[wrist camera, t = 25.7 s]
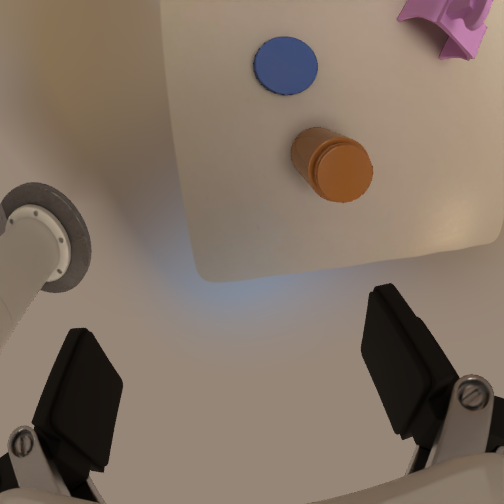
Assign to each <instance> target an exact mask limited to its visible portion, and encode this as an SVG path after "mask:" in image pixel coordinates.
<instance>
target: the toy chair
mask: <svg viewBox="0 0 504 504" xmlns="http://www.w3.org/2000/svg"><path fill="white" fill-rule="evenodd" d="M492 2H493V0H408V1H407V3H406V5H405V6H404V8H403V10H402V11H401V13H400V15H399V17H398V18H397V20H398V21H402V20H406V19H409V18H415V17H420V18H424V19H426V20H428V21H431V22H433V23H435V24H437V25H438V26H439V27H440V28H441V29H443V30H444V31H445V32H446V33H447V34H448V35H449V38H448V40H447V42H446V44H445V46H444V48H443V50H442V52H441V54H440V56H439V59H446V58H462V59H465V60H468V61H469V60H470V59H474V58H475V56H476V54H477V51H478V48H479V45H480V43H481V41H482V38H483V36H484V34H485V32H486V30H487V26H486V25H485V24H484V21H485V19H486V17H487V15H488V13H489V10H490V8H491V5H492Z"/></svg>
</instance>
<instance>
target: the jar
mask: <svg viewBox="0 0 504 504" xmlns="http://www.w3.org/2000/svg"><path fill="white" fill-rule="evenodd" d="M291 160H292V163H293V165H294V167H295V169H296V170H297V171H298V173H299V174H300V175H301V176H302V177H303V178H304V179H305V180H306V182H307V183H308V184H309V185H310V186H311V187H312V189H313V190H314V191H315V192H316V193H317V194H318V195H319V196H320V197H322V198H324V199H326V200H328V201H333V202H342V203H345V202H351V201H353V200H355V199H358V198H359V197H360V196H361V195H363V194H364V193H365V191H366V190H367V189H368V188H369V185H370V183H371V181H372V176H373V166H372V165H371V161H370V159H369V156H368V154H367V152H366V150H365V149H364V148H363V146H362V145H361V144H359V143H358V142H356V141H355V140H353V139H350V138H348V137H346V136H343V135H341V134H338V133H336V132H333V131H331V130H328V129H325V128H321V127H314V128H310V129H307V130H305V131H303V132H302V133H301V134H299V135H298V137H297V138H296V139H295V141H294V143H293V145H292V149H291Z"/></svg>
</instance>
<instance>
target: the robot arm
mask: <svg viewBox="0 0 504 504" xmlns="http://www.w3.org/2000/svg"><path fill="white" fill-rule="evenodd" d="M70 261H71V246H70V241H69V238H68V235H67V233H66V231H65V229H64V227H63V226H62V224H61V223H60V221H59V220H58V219H57V218H56V217H55V216H54V215H53V214H52V213H51V212H49V211H48V210H46V209H45V208H43V207H41V206H37V205H30V204H28V205H23V206H21V207H19V208H17V209H16V210H15V211H14V212H13V213H12V214H11V215H10V216H9V218H8V220H7V223H6V227H5V232H4V233H3V234H2V235H1V236H0V353H1V351H2V349H3V347H4V346H5V344H6V342H7V340H8V339H9V337H10V335H11V334H12V332H13V330H14V329H15V327H16V325H17V324H18V322H19V321H20V319H21V318H22V316H23V315H24V313H25V311H26V310H27V308H28V307H29V305H30V304H31V302H32V301H33V299H34V298H35V296H36V295H37V293H38V292H39V291H40V289H41V288H42V286H43V285H44V284H45V282H49V281H54V280H57V279H59V278H60V277H61V276H62V275H63V274H64V273H65V272H66V270H67V269H68V267H69V264H70ZM361 353H362V357H363V359H364V361H365V364H366V365H367V368H368V370H369V373H370V375H371V377H372V380H373V382H374V384H375V387H376V389H377V391H378V393H379V396H380V398H381V401H382V403H383V406H384V408H385V410H386V413H387V415H388V418H389V420H390V422H391V425H392V428H393V430H394V432H395V433H396V434H400V436H401V438H402V440H404V439H407V438H410V437H412V436H413V438H414V441H415V443H416V445H417V446H416V449H415V452H414V454H413V456H412V459H411V461H410V464H409V466H408V469H407V471H406V473H405V476H404V477H401V478H398V479H395V480H393V481H390V482H387V483H384V484H381V485H378V486H375V487H372V488H368V489H364V490H361V491H358V492H354V493H351V494H347V495H343V496H339V497H335V498H331V499H327V500H322V501H318V502H313V503H307V504H504V399H503V398H500V397H497V396H494V392H493V389H492V386H491V385H490V383H489V382H488V381H487V380H486V379H484V378H483V377H481V376H478V375H473V374H470V375H465V376H463V377H461V378H459V376H458V374H457V373H456V371H455V369H454V368H453V366H452V365H451V363H450V361H449V360H448V358H447V357H446V355H445V354H444V352H443V350H442V349H441V347H440V346H439V344H438V343H437V342H436V340H435V338H434V337H433V335H432V334H431V332H430V331H429V329H428V328H427V327H426V325H425V324H424V322H423V321H422V320H421V319H420V318H419V317H416V315H415V314H414V313H413V311H412V310H411V308H410V307H409V306H408V304H407V303H406V301H405V300H404V298H403V297H402V296H401V294H400V293H399V292H398V290H397V289H396V287H395V286H394V285H393V284H391V283H389V284H384V285H380V286H376V287H375V288H374V290H373V292H370V293H369V299H368V307H367V314H366V320H365V326H364V332H363V339H362V344H361ZM122 389H123V382H122V379H121V378H120V376H119V375H118V373H117V372H116V370H115V369H114V367H113V366H112V364H111V363H110V361H109V360H108V358H107V356H106V355H105V353H104V351H103V350H102V348H101V347H100V345H99V343H98V342H97V340H96V338H95V337H94V335H93V334H92V332H89V331H88V329H86V328H74V329H70V331H69V332H68V334H67V336H66V338H65V341H64V343H63V345H62V347H61V350H60V352H59V354H58V356H57V358H56V361H55V363H54V365H53V368H52V370H51V372H50V375H49V377H48V380H47V382H46V385H45V387H44V390H43V392H42V395H41V397H40V400H39V403H38V406H37V408H36V411H35V414H34V417H33V420H32V424H33V425H34V426H35V427H34V430H33V429H32V428H31V427H29V426H20V427H18V428H16V429H15V430H14V431H13V432H12V434H11V435H10V437H9V440H8V453H6V454H5V455H3V456H2V457H1V458H0V504H106V503H105V501H104V500H103V498H102V496H101V495H100V494H99V492H98V490H97V489H96V487H95V485H94V483H93V482H92V480H91V478H90V476H89V472H90V470H91V471H96V472H104V467H105V466H106V465H107V464H108V461H109V455H110V449H111V444H112V438H113V432H114V427H115V422H116V417H117V412H118V407H119V403H120V398H121V394H122Z"/></svg>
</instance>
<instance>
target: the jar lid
mask: <svg viewBox="0 0 504 504" xmlns="http://www.w3.org/2000/svg"><path fill="white" fill-rule="evenodd" d="M258 50H259V51H258V52H257V54H256V55H255V59H254V63H253V64H254V71H255V75H256V77H257V78H256V79H258V80H259V82H260V83H261V85H263V86H264V87H265V88H266V89H267V90H270V91H272V92H274V93H278V94H282V95H285V94H288V95H289V94H290V95H293V94H296V93H300V92H302V91H304V90H305V89H307V88H308V87H309V86H310V85H311V84H312V83H313V82H314V80H315V78H316V75H317V71H318V63H317V59H316V56H315V54H314V52H313V51H312V50H311V48H310V47H309V46H308V45H307V44H305V43H304V42H302V41H301V40H298V39H296V38H292V37H277V38H274V39H271V40H269V41H268V42H266V43H264V44H263V46H262V47H261V48H259V49H258Z"/></svg>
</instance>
